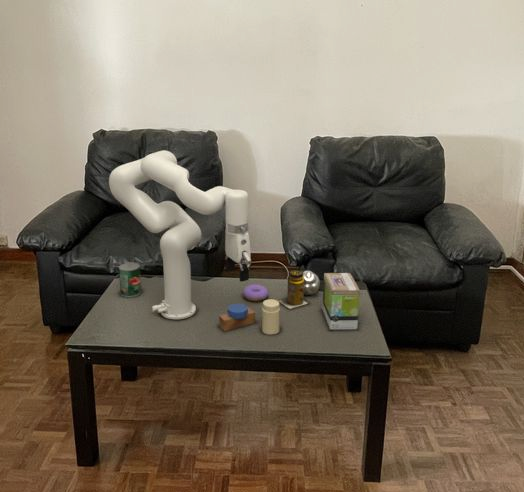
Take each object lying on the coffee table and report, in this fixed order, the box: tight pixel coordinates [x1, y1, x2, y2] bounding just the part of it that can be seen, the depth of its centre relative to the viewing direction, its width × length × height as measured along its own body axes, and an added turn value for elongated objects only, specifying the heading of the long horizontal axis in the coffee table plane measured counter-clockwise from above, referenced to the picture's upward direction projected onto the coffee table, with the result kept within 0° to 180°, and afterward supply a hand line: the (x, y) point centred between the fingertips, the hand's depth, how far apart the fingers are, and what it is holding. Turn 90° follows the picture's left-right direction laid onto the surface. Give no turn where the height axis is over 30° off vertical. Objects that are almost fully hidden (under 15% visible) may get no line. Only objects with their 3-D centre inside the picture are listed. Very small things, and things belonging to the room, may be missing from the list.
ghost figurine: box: [302, 270, 321, 296], centre depth 212 cm, size 9×10×10 cm
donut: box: [242, 284, 269, 302], centre depth 210 cm, size 10×9×5 cm
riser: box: [218, 307, 256, 332], centre depth 189 cm, size 12×4×4 cm, turn 121°
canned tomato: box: [118, 261, 142, 298], centre depth 213 cm, size 8×8×11 cm
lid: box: [227, 303, 249, 319], centre depth 189 cm, size 7×7×2 cm
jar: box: [261, 298, 281, 335], centre depth 185 cm, size 6×6×10 cm
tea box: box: [321, 272, 361, 331], centre depth 192 cm, size 15×10×15 cm, turn 4°
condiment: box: [278, 269, 308, 310], centre depth 205 cm, size 7×8×12 cm
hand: (237, 275), depth 186 cm, fingers open, 9 cm apart
